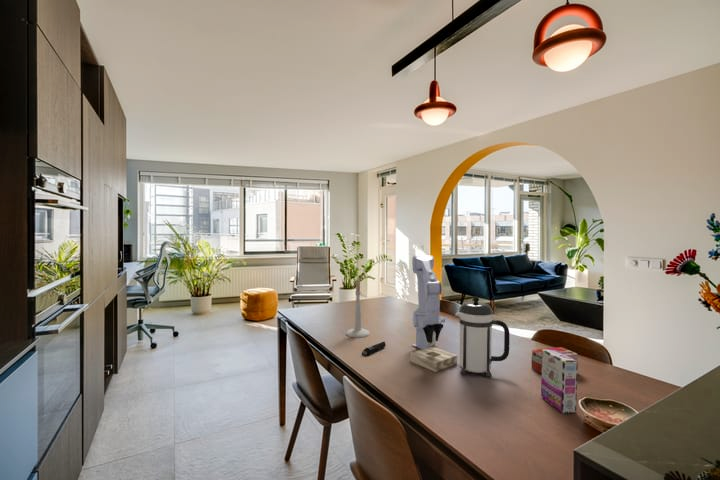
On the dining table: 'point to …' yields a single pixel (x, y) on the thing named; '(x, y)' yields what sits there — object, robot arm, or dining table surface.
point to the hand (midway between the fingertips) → (432, 341)
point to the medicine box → (538, 357)
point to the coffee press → (478, 337)
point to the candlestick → (357, 318)
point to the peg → (433, 340)
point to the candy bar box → (559, 380)
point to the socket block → (433, 358)
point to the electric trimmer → (373, 349)
